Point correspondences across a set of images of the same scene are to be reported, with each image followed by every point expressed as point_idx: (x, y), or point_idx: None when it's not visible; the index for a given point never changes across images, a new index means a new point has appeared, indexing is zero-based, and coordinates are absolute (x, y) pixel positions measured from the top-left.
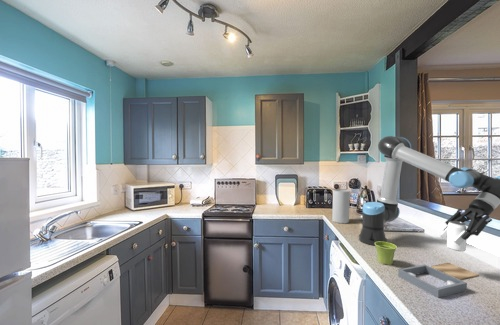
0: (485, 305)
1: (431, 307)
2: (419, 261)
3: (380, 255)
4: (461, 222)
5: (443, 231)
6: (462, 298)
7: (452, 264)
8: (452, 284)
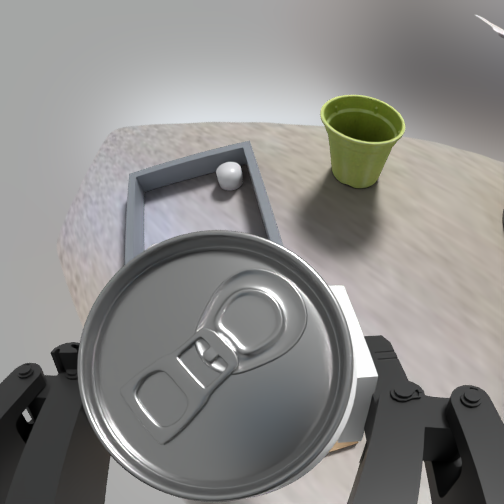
0: (81, 276)
1: (122, 158)
2: (381, 310)
3: (344, 130)
4: (215, 495)
5: (348, 310)
6: (116, 245)
7: (336, 448)
8: (132, 228)
